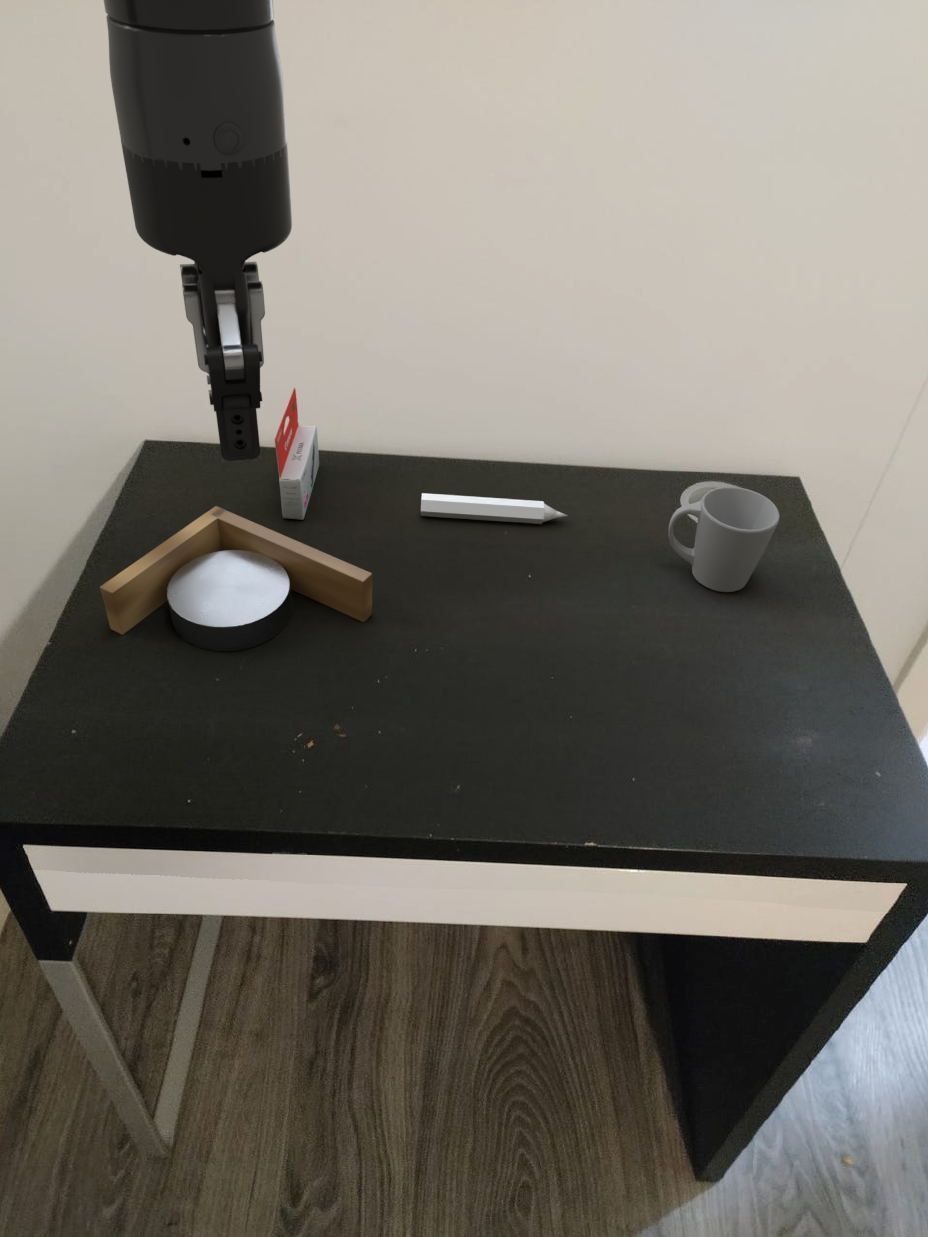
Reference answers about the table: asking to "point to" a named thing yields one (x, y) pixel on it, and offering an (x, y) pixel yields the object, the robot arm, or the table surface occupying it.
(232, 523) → the corner fence
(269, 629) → the white-topped round disc
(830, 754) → the table surface
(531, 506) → the white pencil
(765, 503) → the cup
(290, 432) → the ink box
